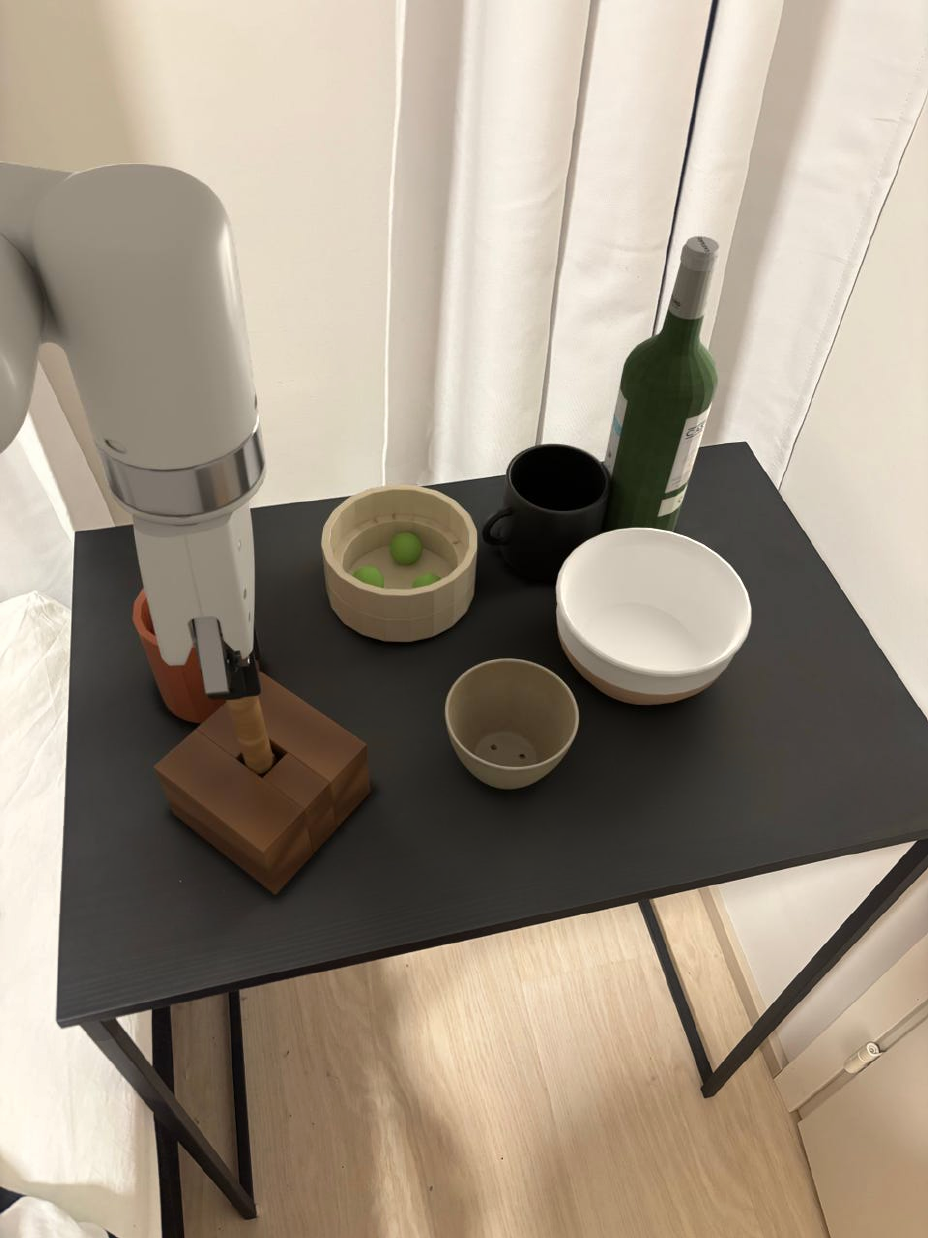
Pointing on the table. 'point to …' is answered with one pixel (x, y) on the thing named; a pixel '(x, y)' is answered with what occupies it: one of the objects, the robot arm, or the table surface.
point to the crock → (174, 672)
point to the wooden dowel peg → (252, 734)
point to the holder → (267, 785)
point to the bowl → (650, 614)
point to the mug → (549, 508)
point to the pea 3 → (425, 580)
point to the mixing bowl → (365, 541)
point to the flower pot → (510, 721)
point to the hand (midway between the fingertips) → (235, 675)
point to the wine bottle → (663, 405)
